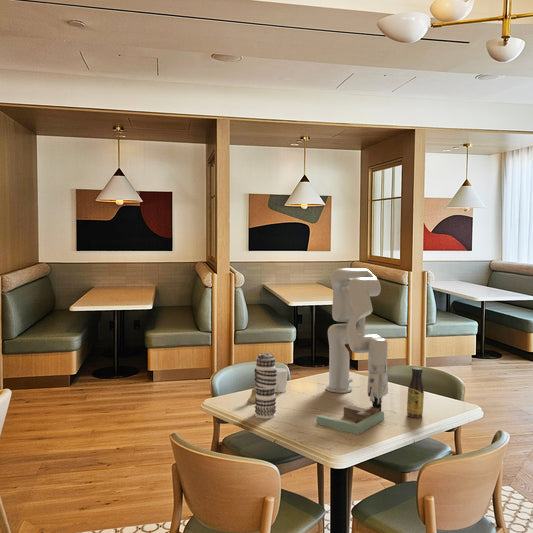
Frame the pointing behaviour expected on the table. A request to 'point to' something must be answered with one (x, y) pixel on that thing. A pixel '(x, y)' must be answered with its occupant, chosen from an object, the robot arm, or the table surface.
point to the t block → (359, 412)
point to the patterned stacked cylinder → (265, 386)
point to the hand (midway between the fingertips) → (376, 412)
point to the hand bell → (253, 395)
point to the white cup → (281, 380)
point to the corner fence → (349, 426)
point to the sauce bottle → (415, 394)
